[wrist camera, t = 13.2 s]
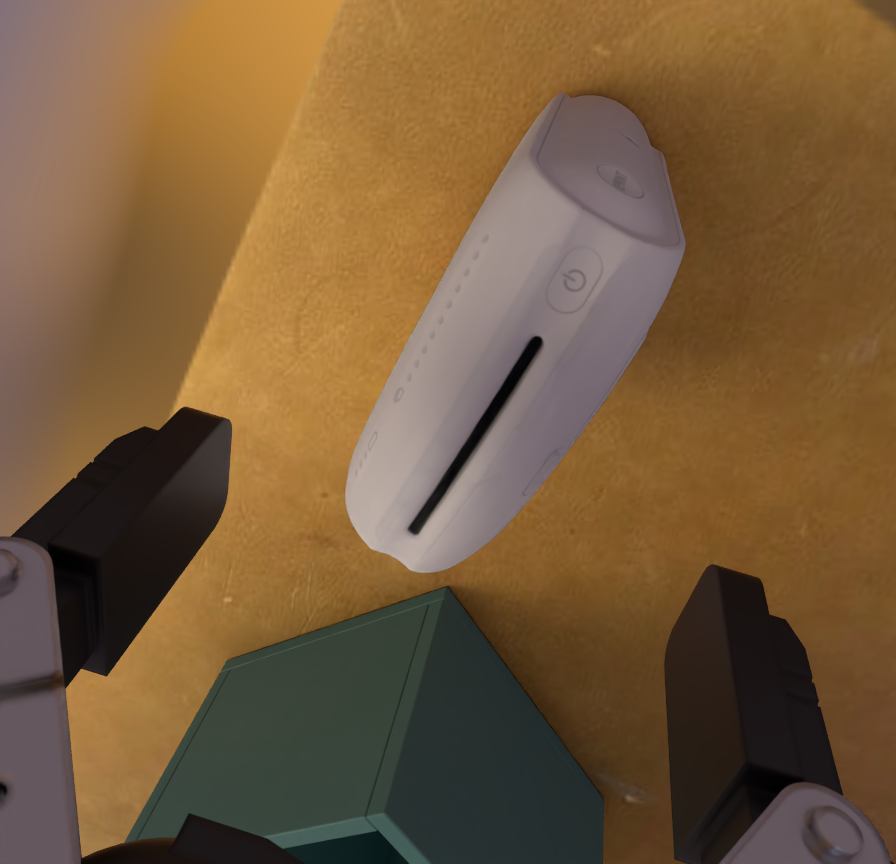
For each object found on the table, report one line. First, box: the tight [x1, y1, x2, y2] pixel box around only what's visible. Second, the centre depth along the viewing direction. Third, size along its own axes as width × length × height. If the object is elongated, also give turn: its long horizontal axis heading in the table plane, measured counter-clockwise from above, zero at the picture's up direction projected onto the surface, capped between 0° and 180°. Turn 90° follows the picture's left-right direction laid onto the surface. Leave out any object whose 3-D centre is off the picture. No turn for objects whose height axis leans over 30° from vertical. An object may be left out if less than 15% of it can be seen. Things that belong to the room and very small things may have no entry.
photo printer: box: [345, 92, 686, 573], centre depth 20 cm, size 10×4×12 cm, turn 153°
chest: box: [124, 587, 604, 864], centre depth 35 cm, size 16×14×11 cm
